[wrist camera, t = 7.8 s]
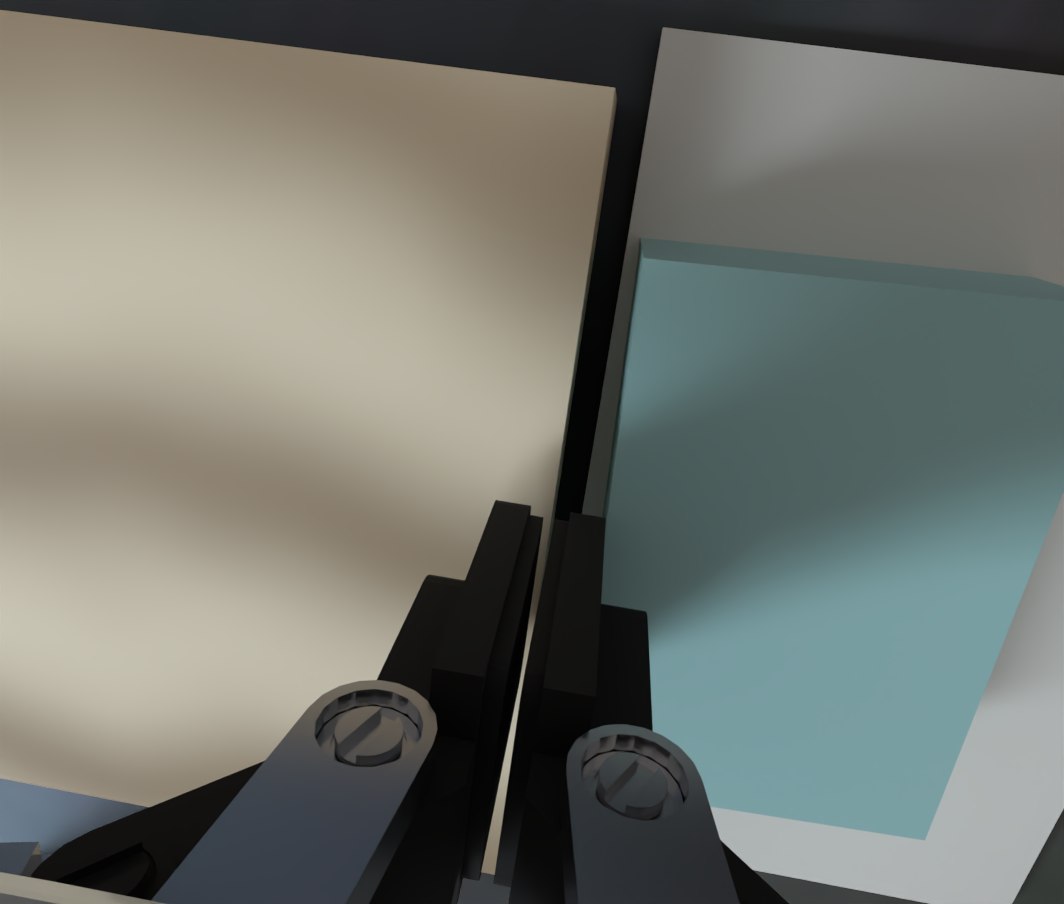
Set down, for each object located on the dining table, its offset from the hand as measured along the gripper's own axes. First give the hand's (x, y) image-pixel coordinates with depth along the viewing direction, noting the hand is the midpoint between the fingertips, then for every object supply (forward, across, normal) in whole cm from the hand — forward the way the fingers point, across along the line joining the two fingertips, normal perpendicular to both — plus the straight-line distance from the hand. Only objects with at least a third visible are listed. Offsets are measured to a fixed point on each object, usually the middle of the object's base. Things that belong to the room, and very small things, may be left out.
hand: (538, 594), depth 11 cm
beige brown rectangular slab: (+3, +9, 0) cm, 10 cm away
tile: (+2, -4, -1) cm, 4 cm away
